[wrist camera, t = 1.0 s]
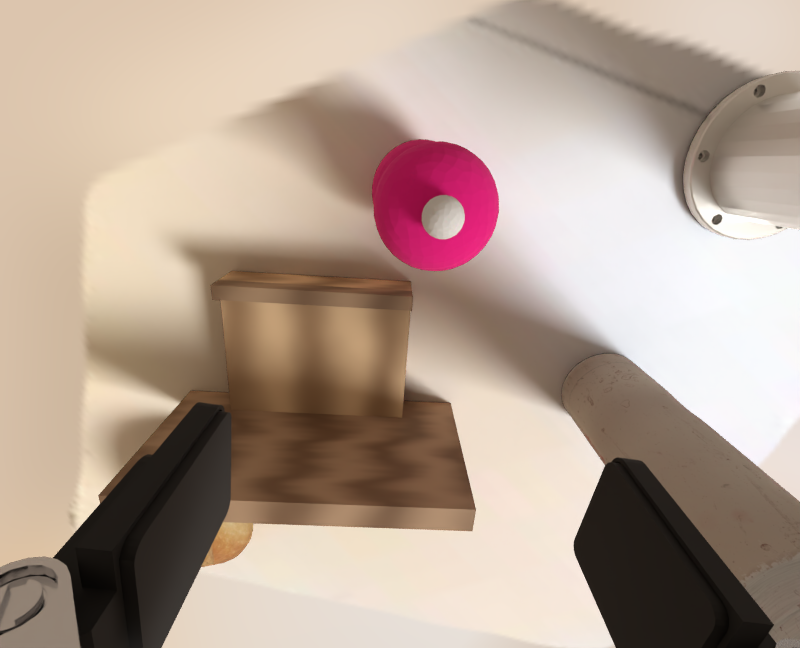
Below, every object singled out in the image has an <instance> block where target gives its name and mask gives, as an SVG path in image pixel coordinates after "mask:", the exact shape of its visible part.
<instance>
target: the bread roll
mask: <svg viewBox="0 0 800 648" xmlns="http://www.w3.org/2000/svg"><path fill="white" fill-rule="evenodd" d="M252 531H253V523H233V522H223V523H222V525H221V527H220V529H219V531H218V533H217V535H216V537H215V539H214V541H213V543H212V545H211V548H210V550H209V552H208V554H207V556H206V558H205V560H204V562H203V564H202V566H201V567H205V566H209V565H215V564H219V563H224V562H226V561H229V560H231V559H233V558H235V557H236V556H238V555H239V554H240V553H241V552H242V551H243V550H244V548H245V547H246V545H247V544H248V543H249V541H250V539H251V536H252Z"/></svg>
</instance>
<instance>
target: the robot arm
mask: <svg viewBox="0 0 800 648" xmlns="http://www.w3.org/2000/svg"><path fill="white" fill-rule="evenodd" d="M698 156H699V157H698ZM683 184H684V193H685V198H686V202H687V205H688V207H689V209H690V211H691V213H692V215H693V216H694V217H695V218H696V220H697V221H698V222H699V223H700V224H701V225H702V226H704V227H705V228H706V229H708V230H709V231H711V232H713V233H716V234H718V235H720V236H724V237H729V238H733V239H744V240H750V239H758V238H764V237H767V236H771V235H774V234H777V233H779V232H781V231H783V230H785V229H787V228H791V229H797V230H800V71H786V72H781V73H776V74H771V75H767V76H764V77H762V78H759V79H756V80H753V81H751V82H749V83H747V84H745V85H743V86H742V87H740V88H738V89H736V90H735V91H734V92H732V93H731V94H730V95H729V96H727V97H726V98H725V99H723V100H722V101H721V102H720V103H719V104H718V105H717V106H716V107H715V108H714V109H713V110H712V112H711V113H710V114H709V115H708V116H707V118H706V119H705V121H704V122H703V123H702V125H701V126H700V128H699V129H698V131H697V133H696V135H695V137H694V139H693V141H692V143H691V145H690V148H689V151H688V154H687V157H686V161H685V167H684V174H683ZM231 419H232V418H231V413H230V412H225V409H224V406H222V405H217V404H210V403H202V402H198V403H196V404H195V405H194V406H193V407H192V409H191V410H190V411H189V412H188V413H187V415H186V416H185V417H184V418H183V419H182V420H181V422H180V423H179V424H178V425H177V426H176V428H175V429H174V430H173V431H172V432H171V434H170V435H169V436H168V437H167V438H166V440H165V441H164V442H163V443H162V444H161V445H160V447H159V448H158V449H157V450H156V451H155V453H154V454H153V455H151V454H147V455H145V456H143V457H141V458H140V459H139V460H138V461H137V462H136V463H135V465H134V466H133V467H132V468H131V469H130V470H129V471H128V473H127V474H126V475H125V476H124V477H123V478H122V479H121V481H120V482H119V483H118V484H117V485H116V486H115V487H114V489H113V490H112V491H111V492H110V493H109V494H108V496H107V497H106V498H105V499H104V500H103V501H102V502H101V504H100V505H99V506H98V507H97V508H96V509H95V510H94V512H93V513H92V514H91V515H90V516H89V517H88V518H87V520H86V521H85V522H84V523H83V524H82V525H81V526H80V528H79V529H78V530H77V531H76V532H75V533H74V534H73V536H72V537H71V538H70V539H69V540H68V541H67V542H66V544H65V545H64V546H63V547H62V548H61V549H60V550H59V552H58V553H57V554H56V555H55V556H54V557H53V558H48V557H33V558H26V559H22V560H19V561H15V562H11V563H9V564H7V565H4V566H2V567H0V648H161V647H162V645H163V643H164V641H165V639H166V637H167V635H168V633H169V631H170V629H171V627H172V625H173V623H174V621H175V618H176V617H177V615H178V613H179V611H180V609H181V607H182V604H183V603H184V600H185V598H186V596H187V594H188V592H189V590H190V588H191V586H192V584H193V582H194V580H195V578H196V576H197V574H198V572H199V570H200V568H201V566H202V564H203V562H204V560H205V558H206V556H207V554H208V552H209V550H210V548H211V545H212V543H213V541H214V539H215V537H216V535H217V533H218V531H219V529H220V527H221V525H222V523H223V521H224V519H225V517H226V515H227V512H228V509H229V506H230V501H231ZM574 552H575V556H576V558H577V560H578V563H579V565H580V567H581V570H582V572H583V574H584V576H585V579H586V581H587V583H588V585H589V588H590V590H591V592H592V594H593V597H594V599H595V601H596V604H597V606H598V608H599V610H600V613H601V615H602V617H603V619H604V622H605V624H606V626H607V629H608V631H609V633H610V635H611V638H612V640H613V642H614V644H615V647H616V648H800V641H799V640H796V639H782V640H780V641H778V642H777V643H776V642H775V641H774V639H773V638H772V637H771V635H770V634H769V632H770V630H771V629H772V627H773V626H774V624H773V623H772V621H771V620H770V619H769V618H768V616H767V615H766V614H765V613H764V612H763V610H762V609H761V608H760V607H759V605H758V604H757V603H756V602H755V600H754V599H753V598H752V597H751V595H750V594H749V593H748V592H747V590H746V589H745V588H744V587H743V585H742V584H741V583H740V582H739V580H738V579H737V578H736V577H735V575H734V574H733V573H732V572H731V570H730V569H729V568H728V567H727V565H726V564H725V563H724V562H723V560H722V559H721V558H720V557H719V555H718V554H717V553H716V552H715V550H714V549H713V548H712V547H711V545H710V544H709V543H708V542H707V540H706V539H705V538H704V537H703V535H702V534H701V533H700V532H699V530H698V529H697V528H696V527H695V525H694V524H693V523H692V522H691V521H690V519H689V518H688V517H687V516H686V514H685V513H684V512H683V511H682V509H681V508H680V507H679V506H678V504H677V503H676V502H675V501H674V499H673V498H672V497H671V496H670V494H669V493H668V492H667V491H666V489H665V488H664V487H663V486H662V484H661V483H660V482H659V481H658V479H657V478H656V477H655V476H654V474H653V473H652V472H651V471H650V469H649V468H648V467H647V466H646V464H645V463H644V462H642V461H640V460H635V459H628V458H620V457H617V458H615V459H613V460H612V462H609V463H607V464H606V465H605V467H604V470H603V472H602V475H601V477H600V479H599V482H598V484H597V487H596V489H595V491H594V494H593V496H592V499H591V501H590V504H589V506H588V508H587V511H586V513H585V516H584V518H583V520H582V523H581V525H580V528H579V530H578V532H577V535H576V537H575V540H574Z"/></svg>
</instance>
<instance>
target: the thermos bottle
mask: <svg viewBox="0 0 800 648" xmlns="http://www.w3.org/2000/svg"><path fill="white" fill-rule="evenodd" d="M562 402H563V404H564V407H565V409H566V410H567V411H568V413H569V414H570V416H571V417H572V419H573V420H574V422H575V423H576V424H577V426H578V427H579V429H580V430H581V432H582V433H583V434H584V436H585V437H586V439H587V440H588V442H589V443H590V444H591V446H592V447H593V449H594V450H595V452H596V453H597V454H598V456H599V457H600V459H601V460H602V462H603V463H604V464H605V465H606V464H607V463H609V462H612V460H613V459H615V458H617V457H620V458H628V459H635V460H640V461H642V462H644V463H645V464H646V466H647V467H648V468H649V469H650V471H651V472H652V473H653V474H654V476H655V477H656V478H657V479H658V481H659V482H660V483H661V484H662V486H663V487H664V488H665V489H666V491H667V492H668V493H669V494H670V496H671V497H672V498H673V499H674V501H675V502H676V503H677V504H678V506H679V507H680V508H681V509H682V511H683V512H684V513H685V514H686V516H687V517H688V518H689V519H690V521H691V522H692V523H693V524H694V525H695V527H696V528H697V529H698V530H699V532H700V533H701V534H702V535H703V537H704V538H705V539H706V540H707V542H708V543H709V544H710V545H711V547H712V548H713V549H714V550H715V552H716V553H717V554H718V555H719V557H720V558H721V559H722V560H723V562H724V563H725V564H726V565H727V567H728V568H729V569H730V570H731V572H732V573H733V574H734V575H735V577H736V578H737V579H738V580H739V582H740V583H741V584H742V585H743V587H744V588H745V589H746V590H747V592H748V593H749V594H750V595H751V597H752V598H753V599H754V600H755V602H756V603H757V604H758V605H759V607H760V608H761V609H762V610H763V612H764V613H765V614H766V615H767V616H768V618H769V619H770V620H771V621H772V623H773V624H774V626H773V627H772V629H771V630H770V632H769V634H770V635H771V637H772V638H773V639H774V641H775V642H776V643H777V642H778V641H780V640H782V639H796V640H799V641H800V502H799V501H798V500H797V499H796V498H795V497H793V496H792V495H791V494H790V493H789V492H787V491H786V490H785V489H784V488H783V487H781V486H780V485H779V484H778V483H776V482H775V481H774V480H773V479H772V478H771V477H769V476H768V475H767V474H766V473H765V472H763V471H762V470H761V469H760V468H759V467H758V466H756V465H755V464H754V463H753V462H752V461H750V460H749V459H748V458H747V457H746V456H744V455H743V454H742V453H741V452H740V451H738V450H737V449H736V448H735V447H734V446H732V445H731V444H730V443H729V442H728V441H726V440H725V439H724V438H723V437H722V436H720V435H719V434H718V433H717V432H716V431H714V430H713V429H712V428H711V427H710V426H708V425H707V424H706V423H705V422H703V421H702V420H701V419H700V418H698V417H697V416H695V415H694V414H693V413H691V412H690V411H689V410H687V409H686V408H685V407H684V406H683V405H682V404H680V403H679V402H678V401H677V400H676V399H675V398H674V397H673V396H672V395H671V394H670V393H669V392H668V391H667V390H665V389H664V388H663V387H662V386H661V385H659V384H658V383H657V382H656V381H655V380H653V379H652V378H651V377H650V376H649V375H647V374H646V373H645V372H644V371H643V370H642V369H640V368H639V367H638V366H637V365H636V364H634V363H633V362H632V361H631V360H629V359H627V358H626V357H624V356H620V355H617V354H599V355H595V356H592V357H590V358H587V359H585V360H583V361H582V362H580V363H579V364H578V365H576V366H575V367H574V368H573V369H572V370H571V371H570V373H569V374H568V375H567V377H566V379H565V381H564V384H563V387H562Z"/></svg>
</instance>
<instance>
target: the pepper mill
mask: <svg viewBox="0 0 800 648" xmlns="http://www.w3.org/2000/svg"><path fill="white" fill-rule="evenodd" d="M372 197H373V204H374V218H375V222H376V227H377V230H378V232H379V235H380V237H381V239H382V241H383V242H384V244H385V245H386V247H387V248H388V249H389V250H390V252H391V253H392V254H393V255H394V256H396V257H397V258H398V259H399V260H401V261H402V262H404V263H406V264H408V265H409V266H411V267H414V268H417V269H421V270H428V271H443V270H448V269H453V268H455V267H458V266H460V265H463V264H465V263H466V262H468V261H469V260H471V259H472V258H473V257H475V256H476V255H477V254H478V253H479V252H480V251H481V250H482V249H483V248H484V247H485V246H486V244H487V242H488V241H489V239H490V238H491V236H492V234H493V231H494V229H495V226H496V222H497V217H498V213H499V198H498V192H497V188H496V184H495V181H494V179H493V177H492V175H491V173H490V171H489V169H488V168H487V167H486V165H485V164H484V163H483V161H481V160H480V159H479V158H478V157H477V156H476V155H474V154H473V153H472V152H470V151H469V150H467V149H465V148H463V147H461V146H459V145H456V144H452V143H447V142H435V141H431V140H420V139H419V140H412V141H408V142H405V143H403V144H401V145H399V146H397V147H395V148H394V149H393V150H391V151H390V152H389V153H388V154H387V155H386V156H385V157H384V159H383V160H382V161H381V163H380V164H379V166H378V168H377V170H376V173H375V176H374V179H373V185H372Z"/></svg>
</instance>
